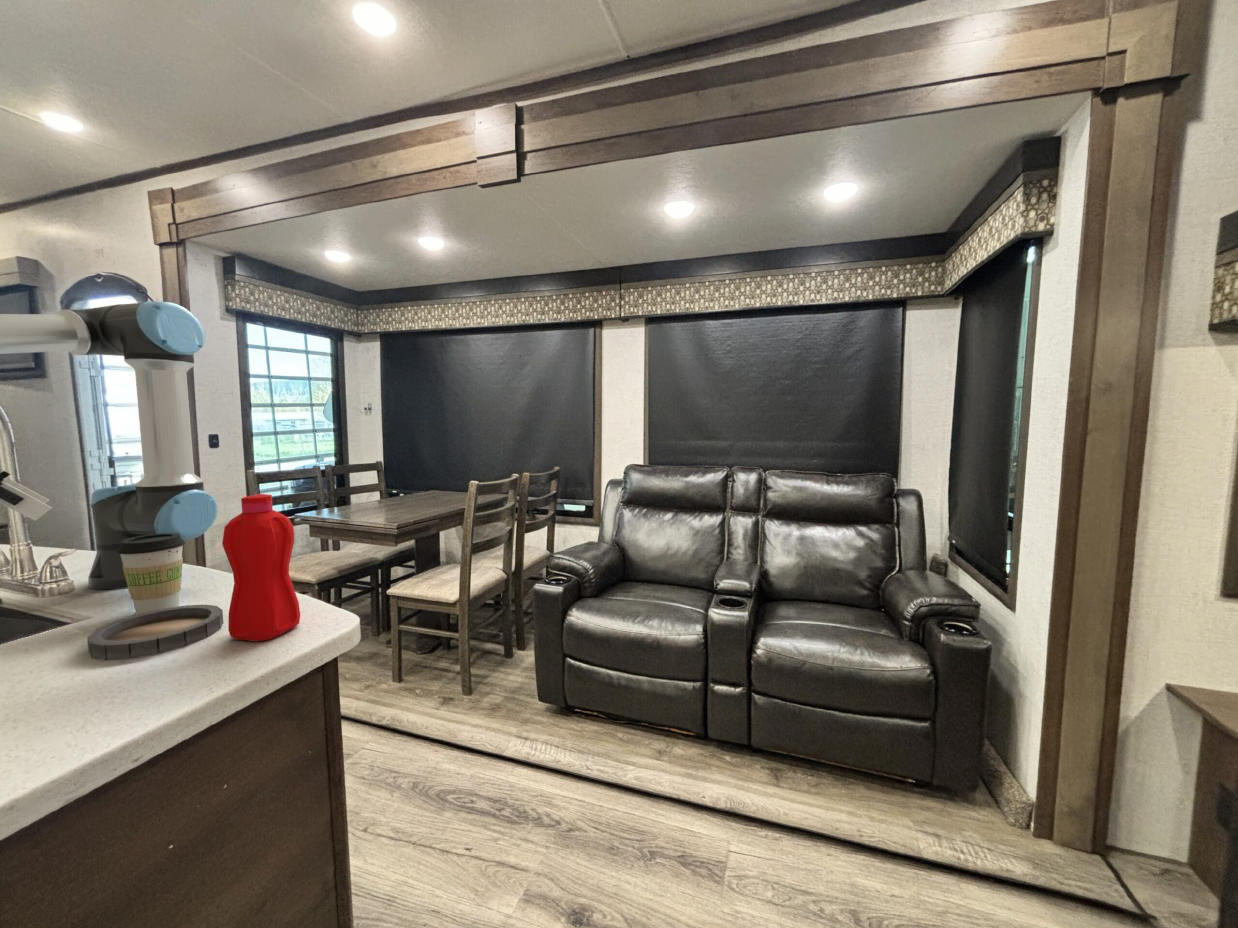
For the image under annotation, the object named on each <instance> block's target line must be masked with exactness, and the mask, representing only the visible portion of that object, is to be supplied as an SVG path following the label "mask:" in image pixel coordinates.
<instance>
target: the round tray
mask: <svg viewBox="0 0 1238 928" xmlns="http://www.w3.org/2000/svg"><path fill="white" fill-rule="evenodd" d="M222 624H223V625H224V612H223V609H222V608H220V607H219V606H217V605H213V604H212V605H211V604H188V605H179V606H178V607H172V608H165V609H162V610H160V609H159V610H155V611H151V612H146V613H142V614H138V615H136V614H135V615H131V616H127V617H126V618H123V619H122V618H121V619H118V620H116V621H114V622H110V623H107V625H104V626H101V627H100V628H98V629H95V630H94V631H93V632H92V633H90V634H89V636H87V637H86V638H87V648H88V654H89V656H90V658H91V659H94V660H101V661H121V660H122V661H123V660H133V659H138V658H144V657H150V656H154V655H159V654H163V653H167V652H171V651H174V650H176V649H182V648H184V647H187V646H190V645H192V644H195V643H198V642H200V641H202V640H204V639H207V638H209V637H211V636H212V635H214V634H215V633H217V632H218V631H220V630H221V629H222V627H223V625H222Z"/></svg>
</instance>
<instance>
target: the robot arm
mask: <svg viewBox="0 0 1238 928" xmlns="http://www.w3.org/2000/svg"><path fill="white" fill-rule="evenodd" d="M205 341H206V335H205V331H204V328H203V326H202V323H201V322H200V321H199V319H198V318H197V316H195V315H193V314H192V313H191V311H190V310H188V309H187V308H186V307H183V306H181V305H180V304H177V303H174V302H169V301H155V300H150V301H145V302H136V303H135V302H134V303H122V304H119V303H118V304H112V305H105V306H99V307H92V308H83V309H82V308H81V309H59V310H58V311H57V312H56V313H55V314H54V313H53V314H51V313H50V314H47V313H46V314H45V313H41V314H40V313H39V314H38V313H37V314H35V313H34V314H33V313H30V314H29V313H28V314H27V313H26V314H25V313H23V314H21V313H0V355H4V354H5V355H9V354H29V353H30V354H31V353H49V352H51V353H53V352H68V353H70V354H72V355H74V356H75V355H76V356H89V355H93V356H94V355H97V356H98V355H99V356H116V357H119V356H120V357H123V359H124V363H126V364H127V365H128V366H130V367H131V368H133V370H134V374H135V384H136V385H135V386H136V395H137V396H136V397H137V407H138V409H137V410H138V421H139V422H138V423H139V431H140V442H141V444H140V445H141V455H142V457H141V458H142V466H143V468H142V469H143V477H142V478H141V479H140V480H139V481H138V482H136V483H134V484H125V485H119V486H110V487H108V486H107V487H101V488H97V489H94V491H93V492H92V493H91V498H90V499H91V501H90V507H91V512H92V518H93V519H92V520H93V529H94V539H95V546H96V553H95V557H94V560H93V563H92V565H91V568H90V569H91V570H90V571H89V575H88V578H87V579H88V580H87V581H88V588H90V589H93V590H113V589H114V590H115V589H123V588H128V586H127V582H126V578H125V575H124V571H123V567H122V566H123V563H122V559H121V555H120V554H118V553H117V549H118V548H119V547H120V543H121V541H123V540H125V539H129V538H133V537H138V536H144V535H152V534H162V533H178V534H180V536H181V538H182V539H183V540H184V541H188V540H193V539H196V538H198V537H200V536H202V535H204V534H205V533H206V532H207V531H208V530H209V528H211V527H212V526H213V525H214V523H215V521H216V519H217V516H218V511H219V509H218V503H217V501H216V499H215V498H214V497H213V496H212V495H211V494H210V493H208V492H206V491H205V487H204V480H203V479H202V478H201V477H199V476H198V475H196V474H195V465H194V452H193V441H192V439H193V438H192V427H191V415H190V400H189V389H188V387H189V386H188V377H187V376H188V375H187V373H188V371H189V370H191V369H192V368H193V367H195V358H194V356H195V355H194V354H196V353H198V352H199V351H200V349H202V348H203V346H204V344H205ZM9 476H11V473H9V472H7V471H6V470H2V472H0V504H1V505H3V506H5V507H7V508H9V509H11V510H13V511H15V512H17V513H18V514H21V515H23V516H25V517H27V518H29V519H31V520H32V521H34V522H36V521H37V520H38V519H40V518H41V517H43V516H44V515H45V514H46V513H48V512H49V511H50V510H52V509H53V507H51V506H50V505H48V504H47V503H48V502H49V501H51V500H50V499H48V498H46V497H45V496H43V495H41V494H39V493H37V492H35V491H34V490H32V489H30V488H28V487H26V486H24V485H23V484H20V483H19V482H17V481H15V480H14V479H11V478H10V477H9Z"/></svg>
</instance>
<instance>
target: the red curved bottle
mask: <svg viewBox="0 0 1238 928" xmlns="http://www.w3.org/2000/svg"><path fill="white" fill-rule="evenodd" d="M240 501H241V513H240V514H238V515H236V516H235V517H233V518H232V519H230V520H229V521H228V522H227V524H226V525H224V527H223V528H224V529H223V537H222V543H221V545H222V547H223V549H224V552H225V555H226V557H227V561H228V563H229V565H230V568H231V571H232V574H233V583H234V584H233V589H232V594H231V599H230V604H229V609H228V628H227V629H228V634H229V636H230V638H232V639H234V640H240V641H251V642H252V641H253V642H263V641H268V640H272V639H274V638H276V637H278V636H281V635H282V634H284V633H286V632H288V631H290V630H293V629H295V628H296V627H297V626H298V625H299V624H300V620H301V609H300V604H299V603H300V602H299V599H298V596H297V593H296V590H295V587H294V585H293V581H292V580H291V579H292V578H291V576H290V562H291V558H292V552H293V549H294V544H295V529H294V526H293V525H294V524H293V523H292V522H291V520H290V518H289V517H288V516H286V515H285V514H283V513H280V511H277V510H274V508H273V495H272V494H269V493H268V494H267V493H257V494H252V495H247V496H244V497H241V499H240Z"/></svg>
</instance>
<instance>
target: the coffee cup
mask: <svg viewBox="0 0 1238 928" xmlns="http://www.w3.org/2000/svg"><path fill="white" fill-rule="evenodd" d="M185 544H186V541H185V540H183V539H182V538H181V536H180V534H178V533H162V534H152V535H144V536H138V537H133V538H129V539H125V540H123V541H121V543H120V547H119V548H118V549H117V553H118V554H120V555H121V559H122V563H123V566H122V567H123V571H124V575H125V578H126V582H127V586H128V587H127V588H128V593H129V595H130V596H129V597H130V599H131V600H132V604H133V607H134V611H135V615H138V614H142V613H146V612H151V611H155V610H159V609H160V610H162V609H165V608H172V607H178V606H180V593H181V592H180V591H181V590H182V579H183V577H182V576H183V562H184V561H183V559H184V557H183V546H184V545H185Z"/></svg>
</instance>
